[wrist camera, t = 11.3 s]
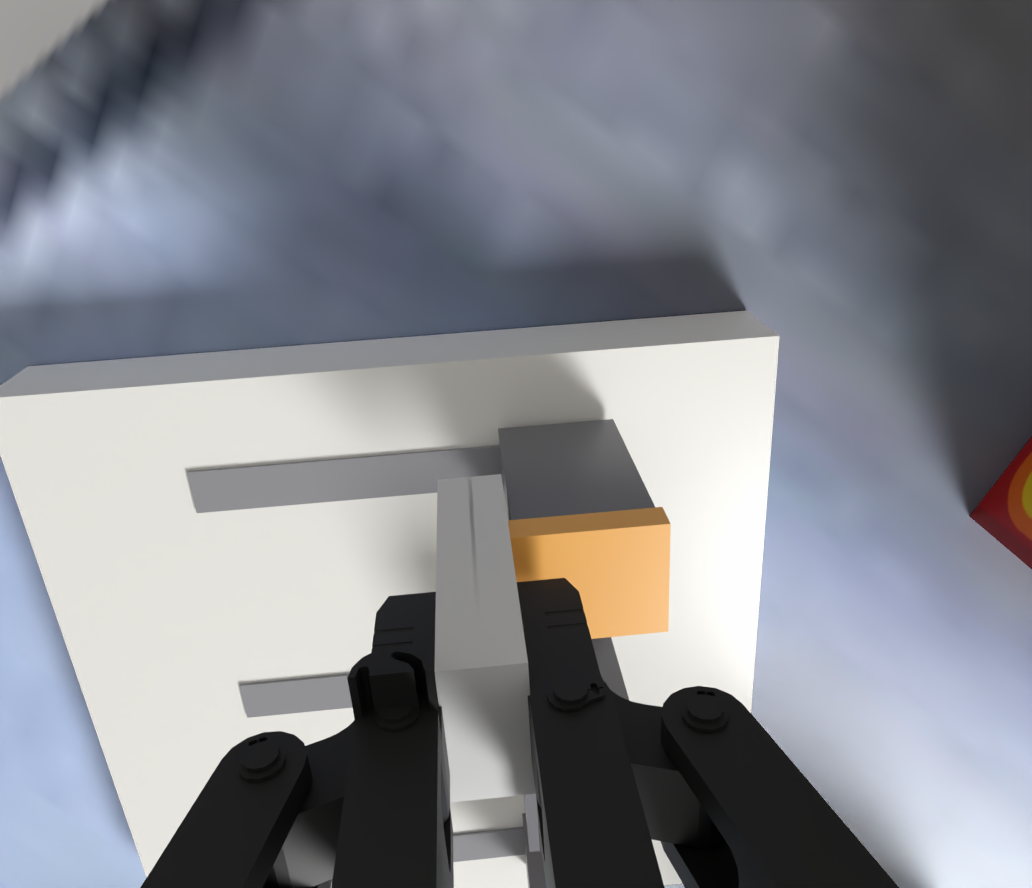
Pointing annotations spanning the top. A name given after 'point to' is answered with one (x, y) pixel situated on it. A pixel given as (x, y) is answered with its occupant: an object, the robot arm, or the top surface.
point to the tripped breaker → (587, 523)
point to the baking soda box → (1011, 507)
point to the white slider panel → (361, 529)
